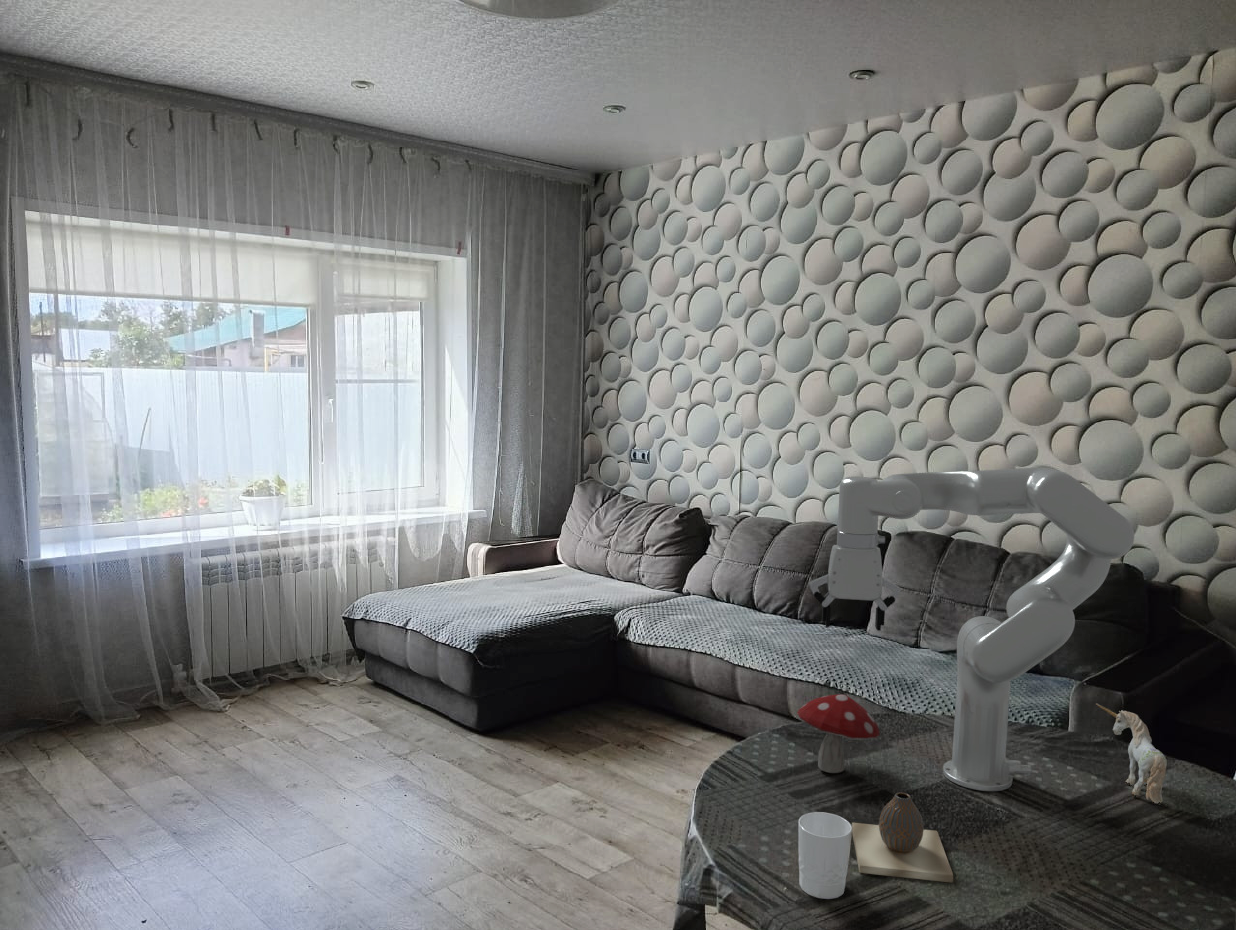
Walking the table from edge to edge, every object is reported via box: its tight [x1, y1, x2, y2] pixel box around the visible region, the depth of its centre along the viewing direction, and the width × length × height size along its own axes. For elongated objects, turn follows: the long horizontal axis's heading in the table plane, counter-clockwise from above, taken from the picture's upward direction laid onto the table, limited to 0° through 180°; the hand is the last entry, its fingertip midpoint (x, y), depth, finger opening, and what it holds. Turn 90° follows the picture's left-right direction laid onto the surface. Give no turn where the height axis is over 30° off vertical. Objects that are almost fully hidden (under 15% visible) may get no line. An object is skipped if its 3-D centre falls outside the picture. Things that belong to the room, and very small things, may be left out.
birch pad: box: [851, 822, 954, 883], centre depth 151 cm, size 14×14×1 cm
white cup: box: [797, 811, 853, 900], centre depth 140 cm, size 8×8×10 cm
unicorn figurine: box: [1095, 703, 1168, 804], centre depth 176 cm, size 7×20×13 cm, turn 4°
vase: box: [878, 792, 925, 853], centre depth 150 cm, size 7×7×9 cm
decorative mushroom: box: [796, 693, 881, 774], centre depth 182 cm, size 16×16×15 cm
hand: (852, 627), depth 181 cm, fingers open, 9 cm apart
